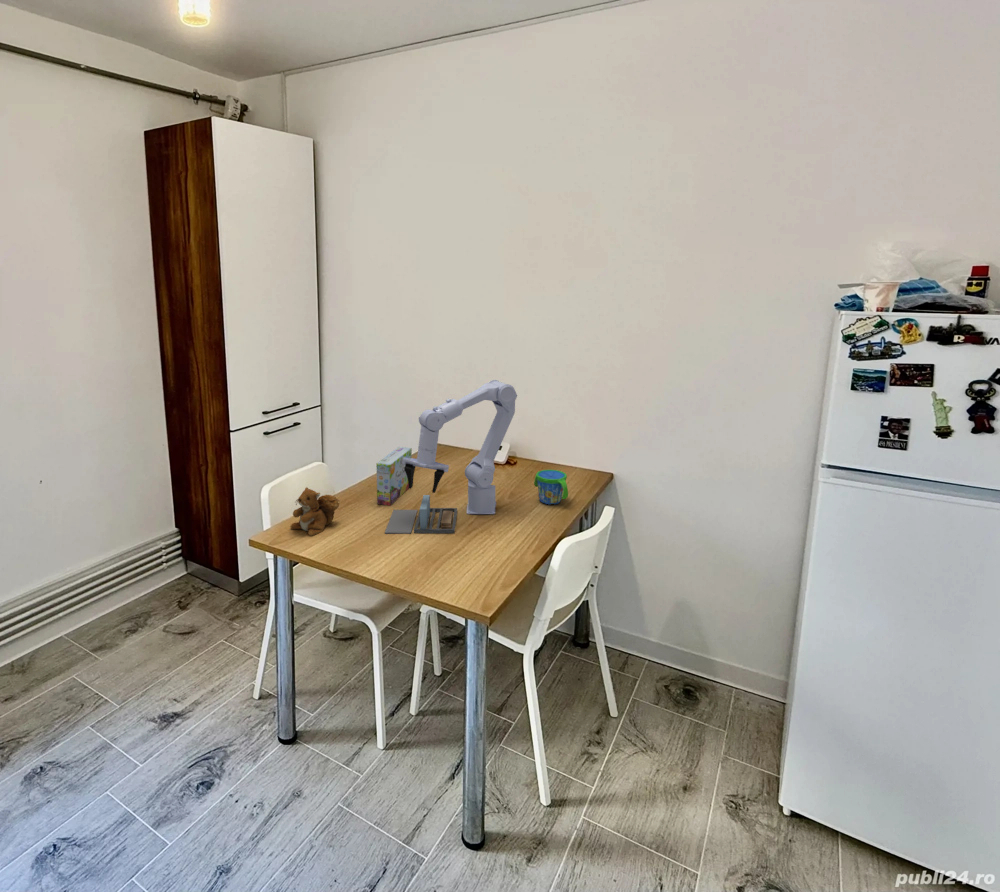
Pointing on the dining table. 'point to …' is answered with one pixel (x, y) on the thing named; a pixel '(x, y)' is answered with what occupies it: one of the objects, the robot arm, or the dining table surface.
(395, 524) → the charcoal mat
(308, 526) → the stuffed squirrel
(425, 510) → the blue-grey rectangular block
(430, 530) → the metal rack
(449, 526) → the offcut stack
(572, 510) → the dining table surface
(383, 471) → the snack box
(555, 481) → the snack cup
